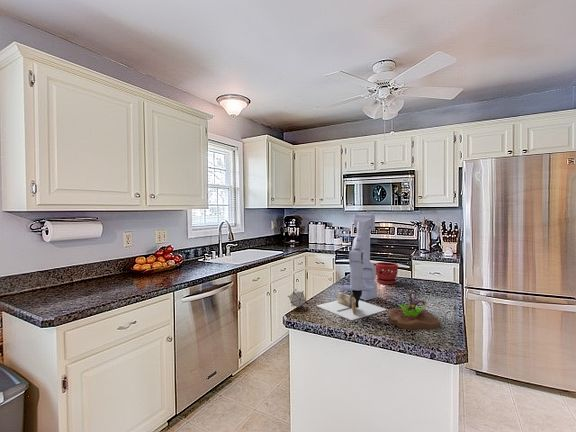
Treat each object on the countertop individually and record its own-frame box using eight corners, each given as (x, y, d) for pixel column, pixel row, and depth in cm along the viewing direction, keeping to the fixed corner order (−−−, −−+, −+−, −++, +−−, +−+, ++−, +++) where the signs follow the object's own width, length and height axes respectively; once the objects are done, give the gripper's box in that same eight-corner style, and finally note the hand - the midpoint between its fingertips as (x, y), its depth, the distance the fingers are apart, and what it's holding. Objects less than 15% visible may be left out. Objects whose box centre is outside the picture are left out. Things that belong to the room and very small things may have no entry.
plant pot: (400, 285, 186) (400, 265, 186) (378, 285, 186) (378, 265, 186) (393, 280, 199) (393, 261, 199) (373, 280, 199) (373, 261, 199)
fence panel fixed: (355, 307, 144) (355, 294, 144) (352, 308, 143) (352, 294, 143) (339, 302, 153) (339, 289, 153) (337, 302, 152) (337, 289, 152)
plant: (426, 313, 139) (426, 288, 138) (446, 330, 119) (447, 301, 119) (381, 312, 140) (381, 287, 139) (393, 329, 120) (394, 301, 120)
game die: (296, 316, 145) (286, 302, 140) (291, 304, 152) (282, 291, 148) (312, 306, 145) (304, 292, 140) (307, 295, 153) (298, 281, 148)
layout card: (350, 297, 161) (350, 297, 161) (387, 310, 142) (387, 309, 142) (316, 306, 148) (316, 305, 148) (351, 320, 129) (351, 319, 129)
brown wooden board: (351, 307, 143) (351, 297, 143) (353, 307, 143) (353, 297, 143) (353, 313, 135) (353, 302, 135) (355, 313, 135) (355, 302, 135)
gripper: (340, 278, 135) (340, 309, 135) (375, 279, 133) (374, 310, 134) (340, 274, 142) (340, 304, 142) (372, 275, 140) (372, 305, 141)
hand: (356, 307), depth 138 cm, fingers closed
